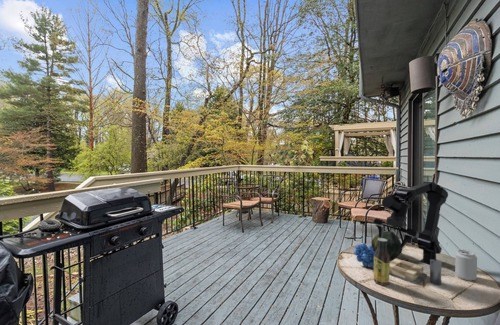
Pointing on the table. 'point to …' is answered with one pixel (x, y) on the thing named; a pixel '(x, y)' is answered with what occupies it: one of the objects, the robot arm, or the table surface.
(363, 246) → the grapes
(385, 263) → the sauce bottle
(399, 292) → the table surface
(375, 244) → the squash
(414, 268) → the socket
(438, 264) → the peg
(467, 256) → the can
